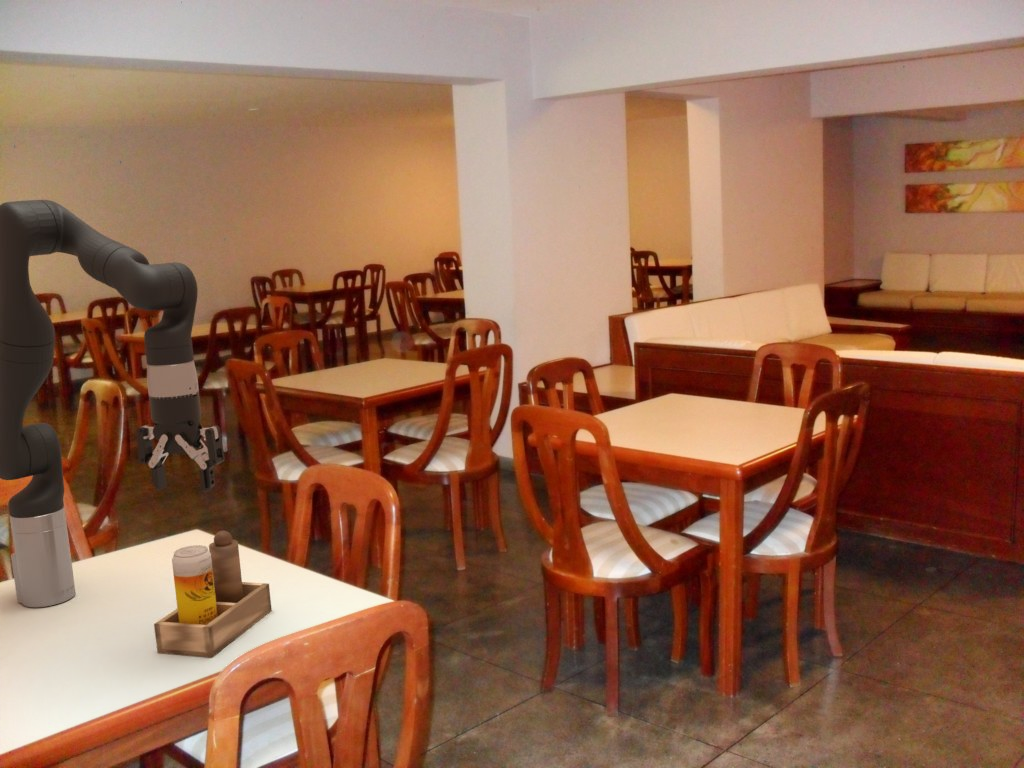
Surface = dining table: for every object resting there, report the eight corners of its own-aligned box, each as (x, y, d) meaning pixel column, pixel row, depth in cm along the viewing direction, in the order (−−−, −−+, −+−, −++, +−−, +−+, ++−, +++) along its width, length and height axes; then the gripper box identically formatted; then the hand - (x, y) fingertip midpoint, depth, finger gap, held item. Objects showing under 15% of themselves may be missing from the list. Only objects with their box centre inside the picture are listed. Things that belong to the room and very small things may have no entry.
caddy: (157, 653, 161) (146, 558, 158) (221, 607, 179) (212, 521, 176) (211, 657, 158) (201, 561, 155) (271, 610, 176) (263, 523, 173)
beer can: (208, 646, 160) (198, 557, 158) (174, 644, 162) (163, 556, 159) (226, 630, 166) (217, 544, 164) (193, 629, 167) (183, 543, 165)
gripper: (119, 395, 155) (131, 495, 158) (199, 395, 151) (210, 498, 154) (149, 386, 162) (160, 482, 165) (226, 386, 158) (236, 484, 161)
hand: (184, 489), depth 160 cm, fingers open, 8 cm apart
